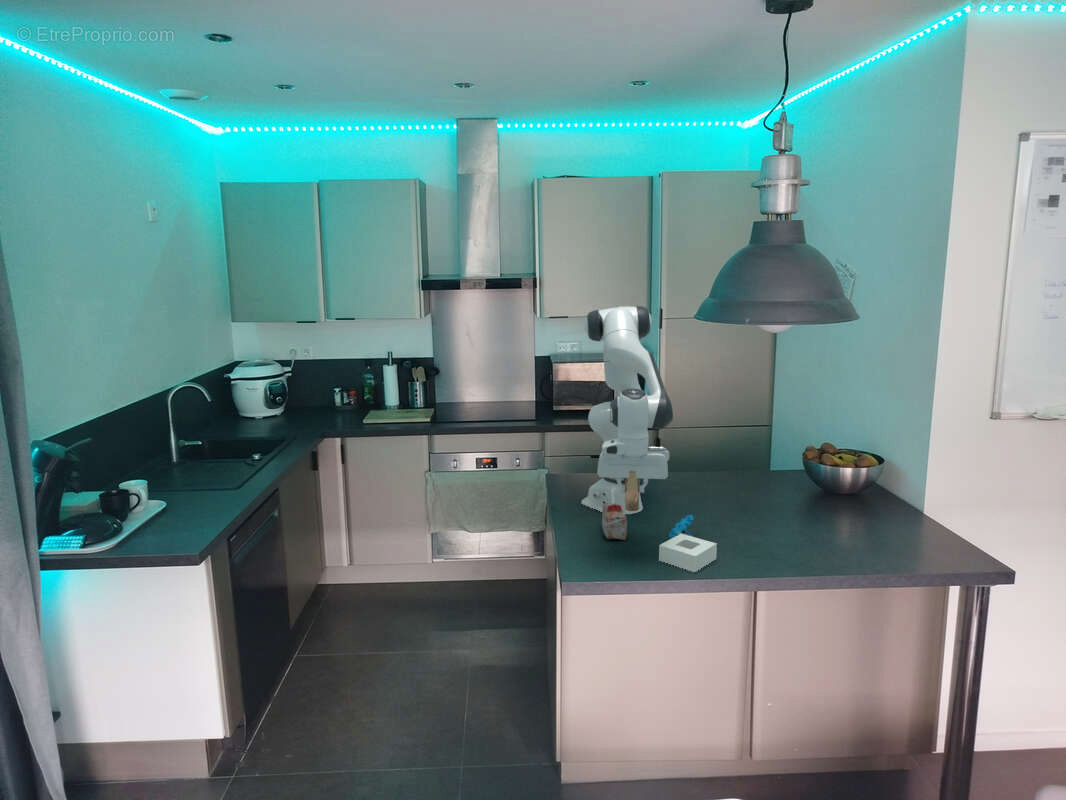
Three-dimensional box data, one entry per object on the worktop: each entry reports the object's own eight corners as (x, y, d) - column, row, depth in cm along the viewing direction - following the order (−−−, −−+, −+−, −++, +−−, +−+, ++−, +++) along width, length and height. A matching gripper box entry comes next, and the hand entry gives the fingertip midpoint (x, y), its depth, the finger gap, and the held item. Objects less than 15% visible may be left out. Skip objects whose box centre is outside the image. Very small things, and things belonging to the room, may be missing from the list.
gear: (670, 525, 233) (692, 508, 228) (683, 538, 233) (705, 521, 228) (664, 542, 223) (687, 524, 219) (677, 555, 223) (701, 538, 219)
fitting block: (658, 561, 210) (659, 545, 209) (680, 548, 218) (681, 533, 217) (694, 572, 202) (695, 556, 201) (716, 559, 210) (716, 543, 209)
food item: (629, 541, 225) (629, 512, 223) (604, 542, 224) (604, 512, 223) (622, 526, 238) (622, 497, 236) (598, 526, 238) (598, 498, 236)
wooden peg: (622, 509, 209) (622, 469, 206) (630, 505, 212) (630, 466, 209) (633, 512, 206) (634, 472, 204) (641, 508, 209) (642, 469, 206)
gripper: (669, 444, 207) (668, 489, 209) (598, 442, 209) (598, 487, 212) (670, 449, 200) (669, 496, 203) (597, 448, 203) (596, 494, 206)
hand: (632, 492), depth 208 cm, fingers closed on wooden peg, 4 cm apart
